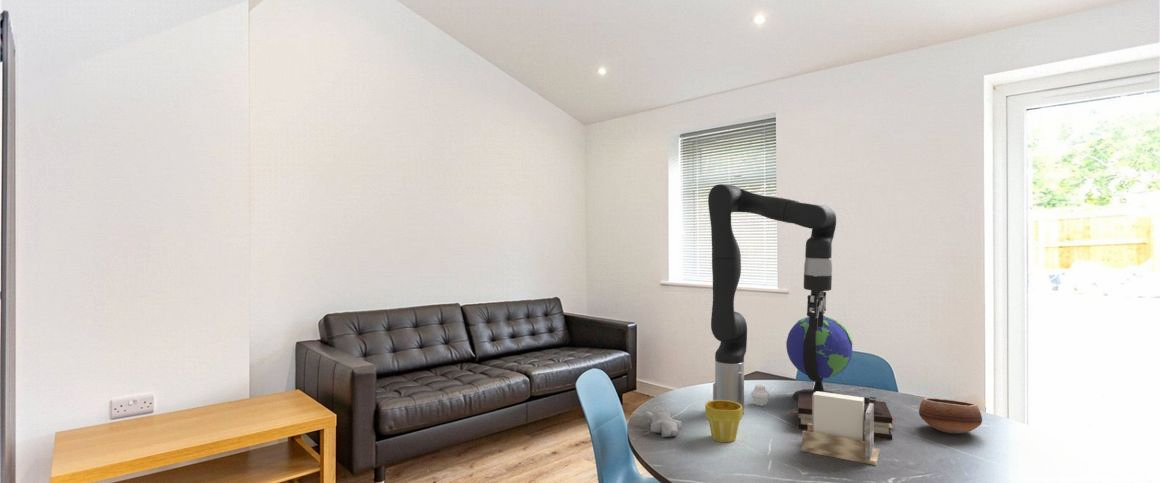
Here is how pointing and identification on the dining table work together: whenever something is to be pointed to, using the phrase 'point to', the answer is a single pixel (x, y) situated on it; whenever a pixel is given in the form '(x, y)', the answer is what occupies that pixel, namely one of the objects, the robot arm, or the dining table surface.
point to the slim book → (838, 415)
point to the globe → (819, 351)
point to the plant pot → (723, 419)
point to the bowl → (950, 415)
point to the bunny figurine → (663, 423)
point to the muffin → (760, 395)
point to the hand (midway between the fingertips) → (816, 328)
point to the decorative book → (880, 415)
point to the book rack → (844, 443)
